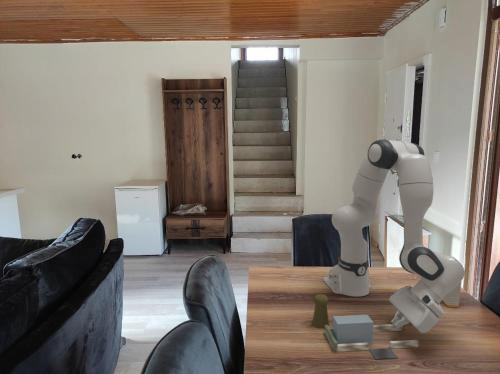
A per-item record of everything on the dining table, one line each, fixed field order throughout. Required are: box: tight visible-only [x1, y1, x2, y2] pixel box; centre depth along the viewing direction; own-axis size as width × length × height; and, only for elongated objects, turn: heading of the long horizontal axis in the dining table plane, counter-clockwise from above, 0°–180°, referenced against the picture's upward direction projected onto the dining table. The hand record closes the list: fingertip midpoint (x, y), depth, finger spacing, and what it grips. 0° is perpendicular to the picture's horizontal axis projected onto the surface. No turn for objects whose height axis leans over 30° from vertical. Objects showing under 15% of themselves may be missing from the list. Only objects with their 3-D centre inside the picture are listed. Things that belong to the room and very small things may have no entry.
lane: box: [324, 323, 419, 360], centre depth 122 cm, size 28×21×3 cm
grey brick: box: [332, 314, 374, 346], centre depth 121 cm, size 12×5×8 cm, turn 95°
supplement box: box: [442, 281, 462, 308], centre depth 147 cm, size 8×5×13 cm, turn 168°
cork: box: [311, 293, 330, 329], centre depth 132 cm, size 6×6×11 cm
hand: (394, 325), depth 122 cm, fingers closed
